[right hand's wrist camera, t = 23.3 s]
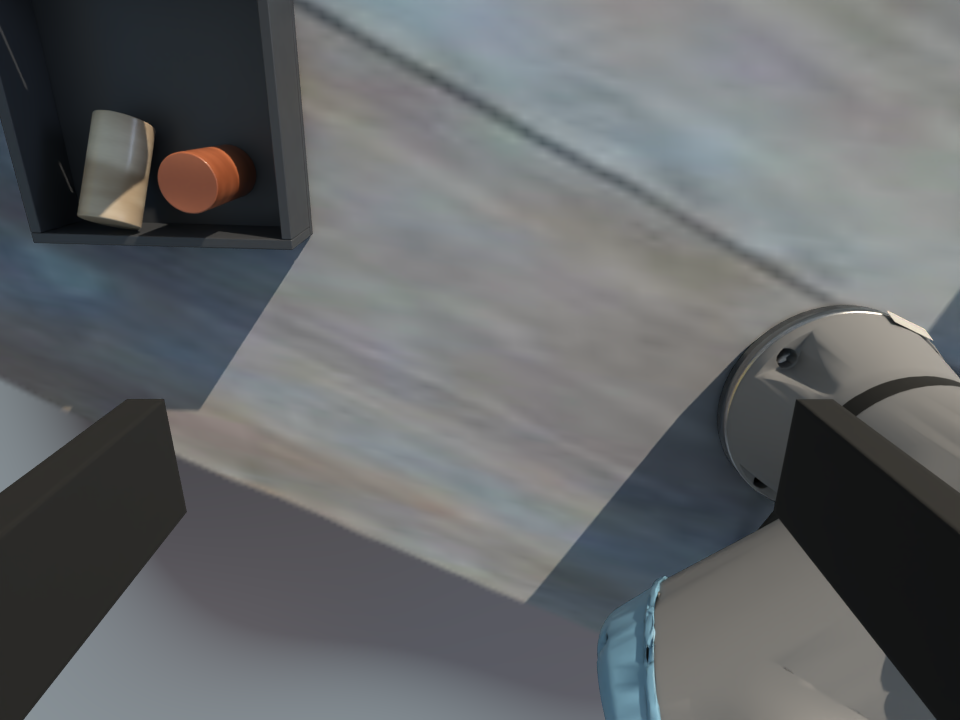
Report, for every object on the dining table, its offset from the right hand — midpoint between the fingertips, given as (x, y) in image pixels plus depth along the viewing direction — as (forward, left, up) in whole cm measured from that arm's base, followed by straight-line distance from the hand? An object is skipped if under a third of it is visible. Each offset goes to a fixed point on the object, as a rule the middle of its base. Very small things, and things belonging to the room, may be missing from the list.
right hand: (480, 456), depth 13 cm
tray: (+13, +18, -28) cm, 36 cm away
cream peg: (+7, +21, -26) cm, 34 cm away
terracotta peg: (+4, +16, -28) cm, 32 cm away
